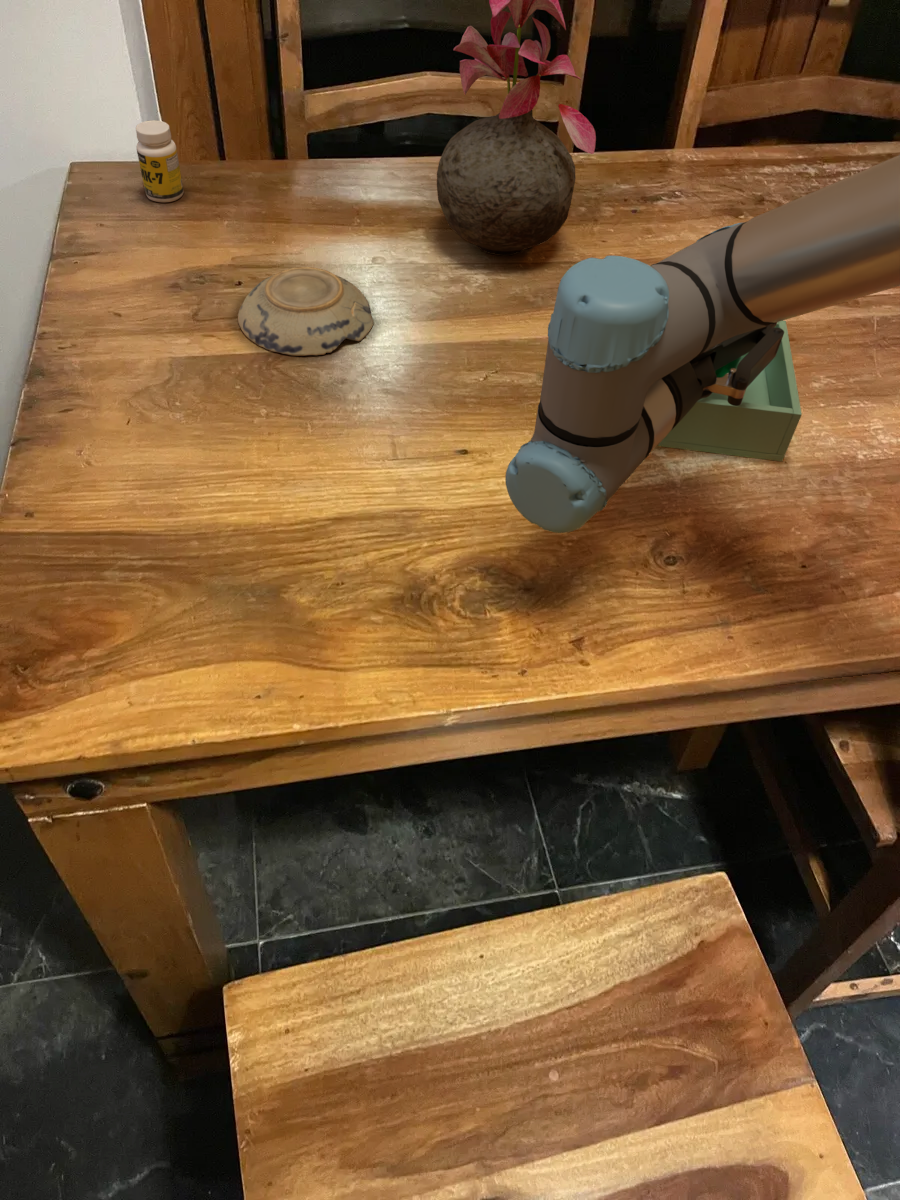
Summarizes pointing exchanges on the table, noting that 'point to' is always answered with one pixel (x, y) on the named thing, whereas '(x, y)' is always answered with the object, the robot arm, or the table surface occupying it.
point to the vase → (511, 143)
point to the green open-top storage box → (746, 415)
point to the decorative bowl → (304, 312)
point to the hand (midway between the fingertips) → (751, 285)
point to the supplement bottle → (158, 162)
